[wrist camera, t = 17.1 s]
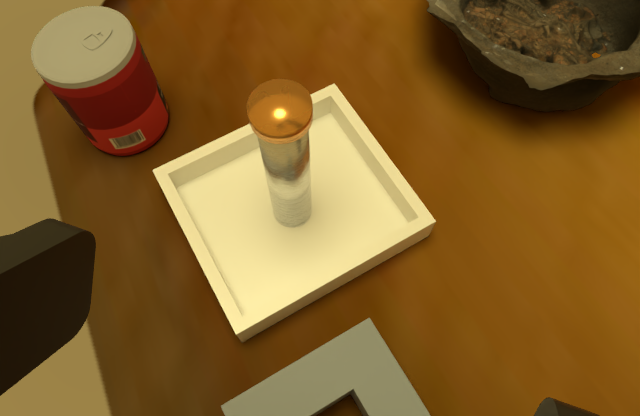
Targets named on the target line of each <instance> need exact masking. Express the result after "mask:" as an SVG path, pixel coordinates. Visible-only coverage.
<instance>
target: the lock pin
mask: <svg viewBox="0 0 640 416" xmlns="http://www.w3.org/2000/svg"><path fill="white" fill-rule="evenodd" d="M247 113H248V118H249V122H250V126H251V128H252V130H253V132H254V133H255V134H256V135H257V137H258V142H259V146H260V151H261V156H262V161H263V166H264V170H265V175H266V180H267V185H268V189H269V194H270V199H271V204H272V209H273V213H274V217H275V219H276V220H277V221H278V222H279V223H280V224H281V225H283V226H286V227H291V228H293V227H299V226H301V225H303V224H305V223H306V222H307V221H308V220H309V218H310V217H311V214H312V194H311V171H310V148H309V129H310V127H311V124H312V121H313V104H312V98H311V96H310V94H309V92H308V91H307V90H306V89H305V88H304V87H303V86H302V85H301V84H299V83H297V82H295V81H292V80H287V79H274V80H270V81H267V82H264V83H262V84H261V85H259V86H258V87H256V88H255V89H254V90H253V91H252V93H251V94H250V96H249V98H248V101H247Z"/></svg>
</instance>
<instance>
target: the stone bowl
mask: <svg viewBox="0 0 640 416" xmlns="http://www.w3.org/2000/svg"><path fill="white" fill-rule="evenodd" d="M427 1H428V2H429V8H428V9H427V11H428V12H429V13H430V14H432V15H433V16H434V17H436V18H437V19H438V20H440V21H441V22H442V23H444V24H445V25H446V26H447V27H448V28H449V29H451V30H452V31H453V32H454V33H455V34H456V35H457V36H458V39H459V44H460V45H461V48H462V50H463V51H464V52H465V54H466V56H467V59H468V61H469V63H470V65H471V67H472V69H473V70H474V72H475V73H476V74H477V75H478V76H479V77H480V78H482V79H483V80H484V81H485V82H486V83H487V84H489V93H490V96H491V97H492V98H494V99H495V100H498V101H501V102H504V103H509V104H515V105H518V106H519V107H525V108H530V109H533V110H537V111H542V112H550V111H554V110H563V111H567V110H576V109H579V108H582V107H584V106H586V105H589V104H591V103H592V102H593V101H594V100H595V99H596V98H597V97H599V96H600V95H601V94H602V93H603V92H604V91H606V90H607V89H609V88H611V87H613V86H615V85H616V84H617V83H618V82H620V80H631V79H633V78H636V77H639V76H640V0H427ZM595 52H596V53H598V54H601V56H600V57H598V58H596V59H595V58H593V57H592V54H593V53H595Z"/></svg>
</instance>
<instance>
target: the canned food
mask: <svg viewBox="0 0 640 416" xmlns="http://www.w3.org/2000/svg"><path fill="white" fill-rule="evenodd" d="M31 58H32V62H33V65H34V67H35V68H36V70H37V72H38V74H39V75H40V76H41V78H42V79H43V81H44V82H45V83H46V85H47V86H48V87H49V89H50V90H51V91H52V92H53V94H54V95H55V96H56V98H57V99H58V100H59V102H60V103H61V104H62V105H63V107H64V108H65V109H66V111H67V112H68V113H69V114H70V116H71V117H72V118H73V120H74V121H75V122H76V124H77V125H78V126H79V127H80V129H81V130H82V131H83V133H84V134H85V135H86V136H87V138H88V139H89V140H90V142H91V143H92V144H93V145H94V146H96V147H97V148H98V149H100V150H102V151H104V152H106V153H108V154H112V155H118V156H126V155H133V154H136V153H139V152H142V151H144V150H146V149H148V148H149V147H151V146H152V145H154V144H155V143H156V142H157V141H158V140H159V139H160V137H161V136H162V135H163V133H164V131H165V129H166V127H167V124H168V111H169V110H168V105H167V102H166V100H165V98H164V95H163V93H162V91H161V89H160V86H159V84H158V82H157V80H156V77H155V75H154V73H153V71H152V68H151V66H150V64H149V62H148V59H147V57H146V55H145V53H144V50H143V48H142V46H141V44H140V41H139V39H138V37H137V35H136V33H135V31H134V29H133V27H132V25H131V24H130V23H129V21H128V20H127V19H126V17H125V16H124V15H122V14H121V13H119V12H118V11H116V10H113V9H111V8H107V7H102V6H88V7H81V8H77V9H73V10H70V11H67V12H65V13H63V14H61V15H59V16H57V17H55V18H54V19H53V20H51V21H50V22H49V23H47V24H46V25H45V26H44V27H43V28H42V29H41V31H40V32H39V33H38V35H37V36H36V38H35V40H34V42H33V45H32V50H31Z"/></svg>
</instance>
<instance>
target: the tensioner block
mask: <svg viewBox="0 0 640 416" xmlns="http://www.w3.org/2000/svg"><path fill="white" fill-rule="evenodd" d="M350 394H351V396H352V398H353V399H354V401H355V403H356V405H357V406H358V408H359V410H360V411H361V413H362V415H363V416H430V414H429V412H428V411H427V409H426V408H425V406H424V404H423V403H422V401H421V400H420V398H419V396H418V395H417V393H416V392H415V390H414V388H413V387H412V385H411V384H410V382H409V380H408V379H407V377H406V376H405V374H404V372H403V371H402V369H401V368H400V366H399V364H398V363H397V361H396V360H395V358H394V356H393V355H392V353H391V351H390V350H389V348H388V347H387V345H386V343H385V342H384V340H383V339H382V337H381V335H380V334H379V332H378V331H377V329H376V327H375V326H374V324H373V323H372V321H371V319H370V318H368V319H366V320H365V321H363V322H361V323H360V324H358V325H356V326H355V327H353V328H351V329H349V330H348V331H346V332H344V333H343V334H341V335H339V336H338V337H336V338H334V339H333V340H331V341H329V342H328V343H326V344H324V345H323V346H321V347H319V348H318V349H316V350H314V351H312V352H311V353H309V354H307V355H306V356H304V357H302V358H301V359H299V360H297V361H296V362H294V363H292V364H291V365H289V366H287V367H286V368H284V369H282V370H281V371H279V372H277V373H275V374H274V375H272V376H270V377H269V378H267V379H265V380H264V381H262V382H260V383H259V384H257V385H255V386H254V387H252V388H250V389H249V390H247V391H245V392H244V393H242V394H240V395H238V396H237V397H235V398H233V399H232V400H230V401H228V402H227V403H225V404H223V405H222V406H221V408H222V410H223V412H224V414H225V416H316V415H318V414H320V413H321V412H323V411H324V410H326V409H328V408H329V407H331V406H332V405H334V404H336V403H337V402H339V401H340V400H342V399H344V398H345V397H347V396H348V395H350Z"/></svg>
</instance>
